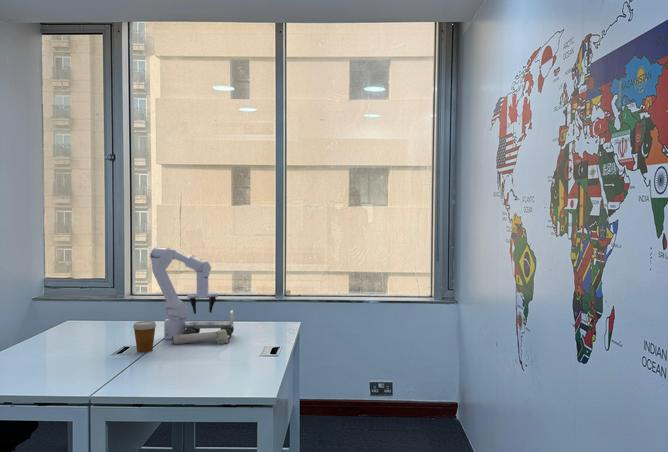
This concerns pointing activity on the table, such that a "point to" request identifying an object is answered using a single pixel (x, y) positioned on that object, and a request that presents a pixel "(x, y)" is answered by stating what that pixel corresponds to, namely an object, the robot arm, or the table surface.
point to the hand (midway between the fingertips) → (202, 312)
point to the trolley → (209, 326)
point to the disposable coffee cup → (144, 335)
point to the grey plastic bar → (202, 337)
